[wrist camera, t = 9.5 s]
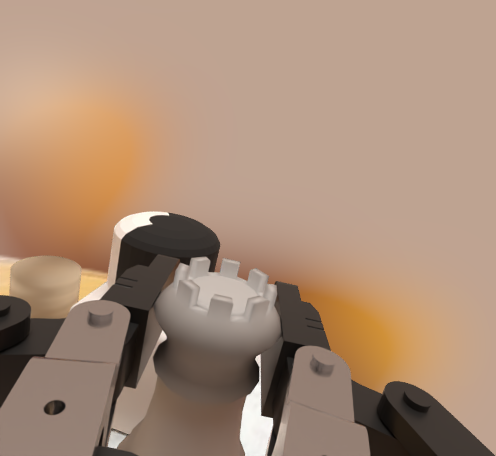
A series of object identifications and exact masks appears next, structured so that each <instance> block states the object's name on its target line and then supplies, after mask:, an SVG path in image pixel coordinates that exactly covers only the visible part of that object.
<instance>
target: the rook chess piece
mask: <svg viewBox="0 0 496 456" xmlns="http://www.w3.org/2000/svg"><path fill="white" fill-rule="evenodd" d="M209 266H210V260H209V259H208V258H207V257H196V258H191V261H190V266H189V265H185V264H182V263H180V264H179V266H178V267H177V269H176V271H175V276H174V281H173V283H172V284H170V285H169V286H168V287H167V288H165V289H164V290H163V291H161V293H160V294H159V296H158V298H157V299H156V301H155V303H154V305H153V308H154V312H155V317H156V320H157V322H158V323H159V325H160V327H161V328H162V330H163V331H164V333H165V334H166V336H167V339H166V340H165V341H163V342H162V343H160V344H159V345H158V347H157V349H156V352H155V354H154V356H153V362H154V368H155V373H156V374H157V375H158V376H157V381H156V386H155V391H154V394H153V397H152V399H151V402H150V405H149V408H148V410H147V413H146V416H145V417H144V419H143V420H142V421H140V422H139V423H138V424H137V425H136V426H135V427H134V428H133V429H132V431H131V433H130V434H129V435H128V436H127V437H126V438H125V439H124V440H123V441H122V442H121V443H120V444H119V446H118V447H117V449H119V450H124V451H129V452H132V453H134V454H136V455H138V456H245V452H244V450H243V447H242V444H241V441H240V428H241V419H242V411H243V407H244V403H245V400H246V396H247V395H248V394H250V393H251V392H252V390H253V389H254V388H255V386H256V385H257V383H258V382H259V366H258V364H257V362H256V360H255V358H256V356H258V355H259V354H261V353H263V352H264V351H266V350H267V349H269V348H271V347H272V346H274V344H275V343H276V342H277V340H278V339H279V338H280V336H281V335H282V329H281V319H280V317H279V315H278V313H277V310H276V308H275V306H274V304H275V300H276V297H277V285H271V284H267V282H268V278H269V276H268V275H266V274H265V273H263V272H261V271H260V270H258V269H257V268H255V269H252V270H250V273H249V278H248V281H246V280H244V279H241V278H239V277H237V274H238V270H239V266H240V262H239V261H234V260H230V259H226V258H223V261H222V265H221V269H220V273H215V272H208V270H209Z"/></svg>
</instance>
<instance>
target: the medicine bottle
mask: <svg viewBox="0 0 496 456" xmlns="http://www.w3.org/2000/svg"><path fill="white" fill-rule="evenodd" d="M219 249H220V242H219V240H218V238H217V236H216V234H215V233H214V232H213V231H212V230H211V229H209V228H208V227H206V226H205V225H203V224H202V223H200V222H198V221H196V220H194V219H191V218H188V217H185V216H182V215H178V214H173V213H166V212H143V213H138V214H133V215H129V216H127V217H125V218H123V219H122V220H120V221H119V222H118V223H117V224H116V225H115V227H114V234H113V242H112V249H111V256H110V263H109V271H108V278H107V282H105V283H104V284H102V285H101V286H100V287H98V288H97V289H95V290H94V291H93V292H91V293H90V294H88V295H87V296H85V297H84V298H83V299H81V300H80V301H78V302H77V303H76V304H74V305H73V306H72V307H71V309H72V308H73V307H74V306H76V305H78V304H80V303H83V302H86V301H92V300H100V299H101V297H102V296H103V295H104V294H105V293H106V292H107V291H108V290H109V289H110V287H111V286H112V285H113V284H115V282H116V281H117V280H118V278H120V276H121V275H122V274H123V273H124V272H125V271H126V270H127V269H129V268H131V267H134V266H136V265H142V266H147V267H149V265H150V264H151V263H152V261H153V260H154V259H155V257H156V256H157V255H158V254H159V255H164V256H168V257H172V258H177V259H180V263H182V264H185V265H189V266H190V261H191V258H196V257H207V258H208V259H209V260H210V266H209V270H208V272H214V270H215V266H216V261H217V257H218V253H219ZM71 309H70V310H71ZM166 339H167V336H166V334H165V333H164V331H163V330H162V333H161V335H160V337H159V339H158V341H157V343H156V346H155V348H154V350H153V352H152V354H151V356H150V359H149V361H148V363H147V365H146V367H145V370H144V372H143V374H142V376H141V378H140V380H139V383H138V385H137V387H136V389H134V388H129V387H124V388H123V390H122V392H121V394H120V396H119V397H118V398H117V405H116V410H115V415H114V419H113V424H112V428H113V429H116V430H119V431H121V432H124V433H127V434H130V433H131V431H132V429H133V428H134V427H135V426H136V425H137V424H138V423H139V422H140V421H142V420H143V419H144V417H145V416H146V413H147V410H148V408H149V405H150V402H151V399H152V397H153V394H154V391H155V386H156V381H157V376H158V375H157V374H156V373H155V368H154V362H153V356H154V354H155V352H156V349H157V347H158V345H159V344H160V343H162V342H163V341H165V340H166Z"/></svg>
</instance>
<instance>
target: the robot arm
mask: <svg viewBox="0 0 496 456" xmlns="http://www.w3.org/2000/svg"><path fill="white" fill-rule="evenodd" d="M179 264H180V259H177V258H172V257H168V256H164V255H159V254H158V255H157V256H156V257H155V259H154V260H153V261H152V263H151V264H150V265H149V267H147V266H142V265H136V266H134V267H131V268H129V269H127V270H126V271H125V272H124V273H123V274H122V275H121V276H120V278H118V280H117V281H116V282H115V284H113V285H112V286H111V287H110V289H109V290H108V291H107V292H106V293H105V294H104V295H103V296H102V297H101V299H100V300H92V301H86V302H83V303H80V304H78V305H76V306H74V307H73V308H72V309H71V310H70V312H69V314H68V315H67V317H66V318H61V319H46V318H31V306H30V304H29V303H28V302H26V301H25V300H23V299H21V298H17V297H13V296H3V295H0V456H138V455H136V454H134V453H132V452H129V451H124V450H119V449H114V448H109V447H107V446H108V442H109V437H110V433H111V428H112V424H113V419H114V415H115V410H116V405H117V398H118V397H119V396H120V394H121V392H122V390H123V388H124V387H129V388H134V389H136V387H137V385H138V383H139V380H140V378H141V376H142V374H143V372H144V370H145V367H146V365H147V363H148V361H149V359H150V356H151V354H152V352H153V350H154V348H155V346H156V343H157V341H158V339H159V337H160V335H161V333H162V328H161V327H160V325H159V323H158V322H157V320H156V317H155V312H154V308H153V305H154V303H155V301H156V299H157V298H158V296H159V294H160V293H161V291H163V290H164V289H165V288H167V287H168V286H169V285H170V284H172V283H173V281H174V276H175V271H176V269H177V267H178V266H179ZM274 285H277V297H276V300H275V304H274V306H275V308H276V310H277V313H278V315H279V317H280V319H281V329H282V335H281V336H280V338H279V339H278V340H277V342H276V343H275V344H274V346H272V347H271V348H269V349H267V350H266V351H264V352H263V353H261V416H265V417H270V418H273V427H272V431H271V434H270V437H269V440H268V445H267V450H266V454H265V456H495V455H494V454H493V453H492V452H491V451H490V450H489V449H488V448H486V446H484V445H483V444H482V443H481V442H480V441H479V440H478V439H477V438H476V437H475V436H474V435H473V434H472V433H471V432H470V431H469V430H468V429H466V428H465V427H464V426H463V425H462V424H461V423H460V422H459V421H458V420H457V419H456V418H455V417H454V416H453V415H452V414H451V413H449V411H447V410H446V409H445V408H444V407H443V406H442V405H441V404H440V403H439V402H438V401H437V400H436V399H434V398H433V397H432V396H431V395H430V394H428V393H427V392H425V391H423V390H422V389H420V388H418V387H416V386H414V385H411V384H408V383H405V382H399V381H394V382H390V383H388V384H387V385H386V386H385V389H384V391H383V394H381V393H378V392H376V391H374V390H371V389H369V388H367V387H365V386H362V385H360V384H358V383H356V382H355V381H353V380H351V374H350V369H349V367H348V365H347V364H346V362H345V361H344V360H343V359H342V358H341V357H339V356H338V355H336V354H335V353H333V352H331V350H330V346H329V343H328V340H327V337H326V334H325V331H324V328H323V324H322V323H321V318H320V315H319V312H318V311H317V310H316V309H315V308H314V307H313V306H312V305H311V304H310V303H307V302H303V301H301V298H300V294H299V290H298V286H296V285H292V284H287V283H282V282H278V281H276V282H275V284H274Z"/></svg>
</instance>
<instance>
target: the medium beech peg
mask: <svg viewBox="0 0 496 456" xmlns="http://www.w3.org/2000/svg"><path fill="white" fill-rule="evenodd" d="M80 280H81V267H80V265H79V264H77V263H76V262H74V261H72V260H70V259H67V258H63V257H57V256H35V257H29V258H25V259H22V260H20V261H18V262H16V263H15V264H13V265H12V267H11V272H10V294H9V296H13V297H17V298H21V299H23V300H25V301H26V302H28V303H29V304H30V306H31V318H46V319H61V318H66V317H67V315H68V314H69V312H70V309H71V307H72V306H73V305H74V304H76V303H77V302H78V298H79V289H80Z"/></svg>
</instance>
